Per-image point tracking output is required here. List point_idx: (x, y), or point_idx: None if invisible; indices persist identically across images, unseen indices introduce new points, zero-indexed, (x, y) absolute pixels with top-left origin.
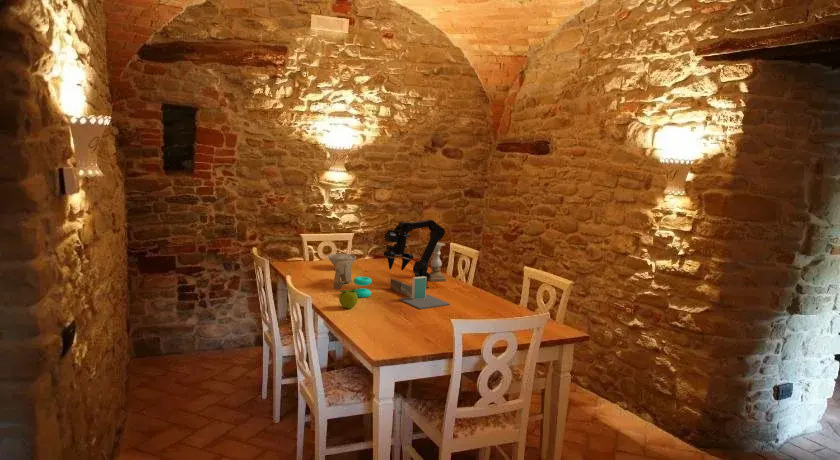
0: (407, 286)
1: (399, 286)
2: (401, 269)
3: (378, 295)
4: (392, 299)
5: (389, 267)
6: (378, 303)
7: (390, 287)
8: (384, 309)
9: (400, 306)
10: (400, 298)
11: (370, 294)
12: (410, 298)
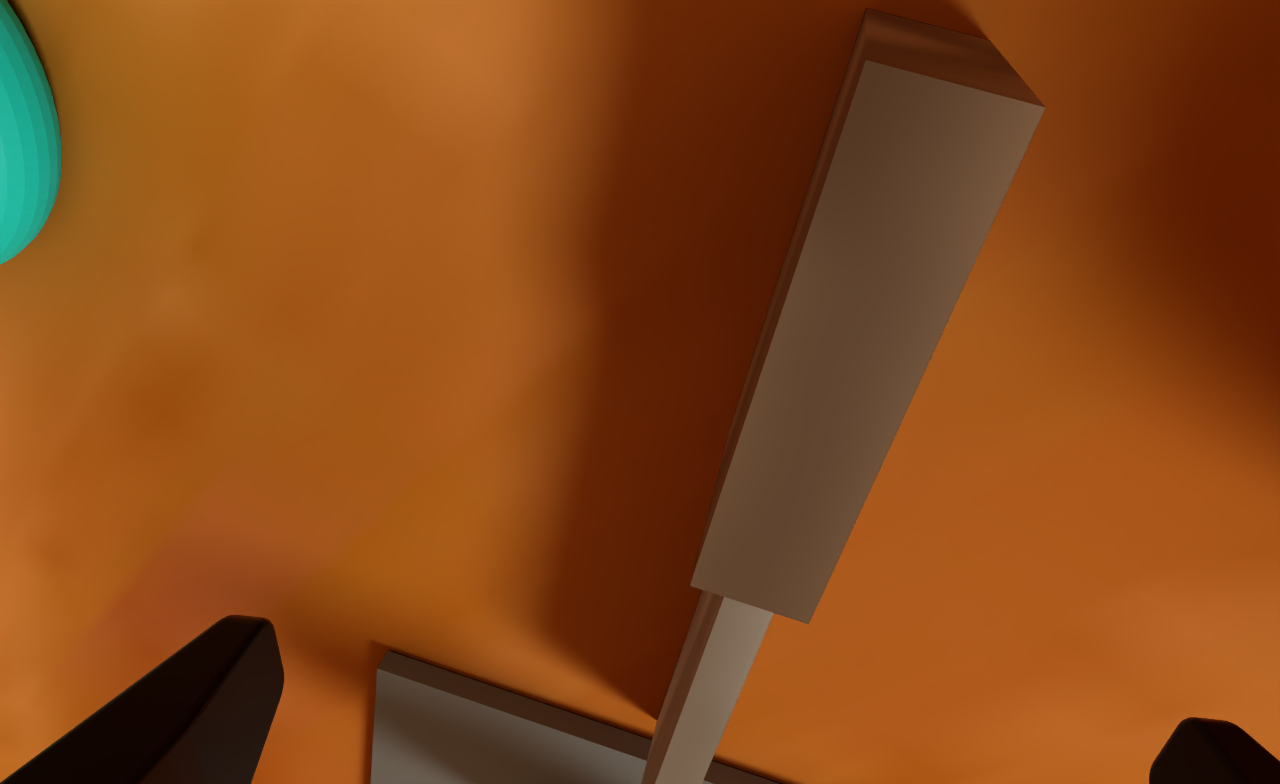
0: (655, 769)
1: (711, 505)
2: (1193, 747)
3: (227, 279)
4: (320, 578)
5: (163, 694)
6: (42, 556)
7: (859, 31)
8: (26, 713)
9: None
10: (400, 682)
11: (8, 259)
12: (532, 770)
